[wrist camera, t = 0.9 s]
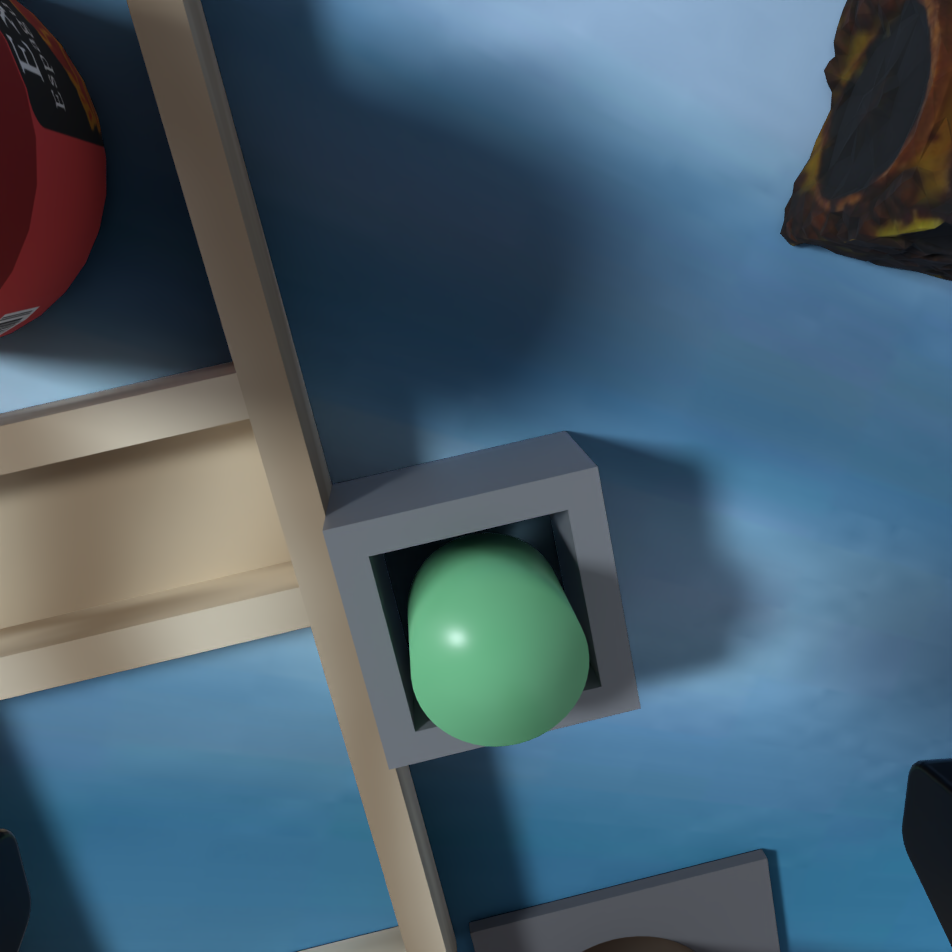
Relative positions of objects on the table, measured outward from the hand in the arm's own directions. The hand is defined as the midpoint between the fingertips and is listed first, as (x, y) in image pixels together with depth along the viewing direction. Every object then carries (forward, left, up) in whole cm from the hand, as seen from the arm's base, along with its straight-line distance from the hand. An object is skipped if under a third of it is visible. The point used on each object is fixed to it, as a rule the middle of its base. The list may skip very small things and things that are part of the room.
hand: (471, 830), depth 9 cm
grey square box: (+1, -3, -14) cm, 14 cm away
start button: (+1, -3, -11) cm, 12 cm away
